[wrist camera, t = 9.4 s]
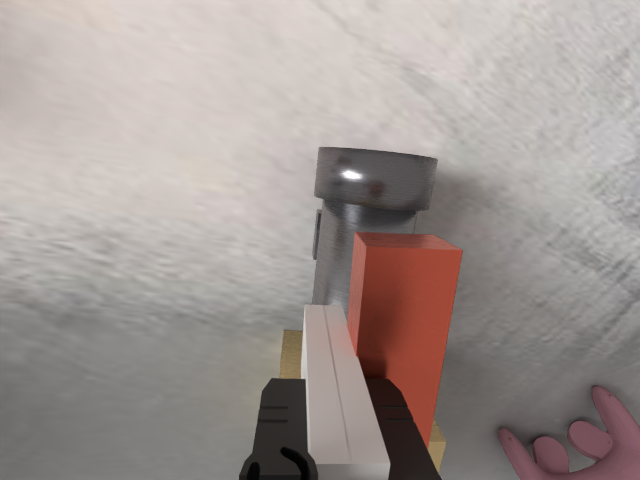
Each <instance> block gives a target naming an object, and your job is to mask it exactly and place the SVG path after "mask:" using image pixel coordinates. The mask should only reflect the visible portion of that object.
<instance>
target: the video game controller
mask: <svg viewBox="0 0 640 480" xmlns="http://www.w3.org/2000/svg"><path fill="white" fill-rule="evenodd" d="M592 397H593V401H594V404H595V406H596V408H597V410H598V412H599V415H600V417H601V419H602V421H603V423H604V424H605V426H606V428H607V432H604V431H602V430H600V429H598V428H597V427H595V426H593V425H592V424H590V423H588V422H585V421H576V422H574V423H573V424H572V425H571V426H570V428H569V429H568V432H567V437H568V440H569V442H570V443H571V445H572V446H573V447H574V448H575V449H576V450H577V451H579V452H580V453H582V454H583V455H585V456H587V457H590V458H592V459H594V460H595V461H596V463H595V464H594V465H592V466H590V467H588V468H585V469H582V470H579V471H576V472H571V473H570V472H569V458H568V454H567V452H566V450H565V448H564V447H563V446H562V444H561V443H560V442H558V441H557V440H555V439H553V438H551V437H540V438H537V439H536V440H535V441H534V443H533V447H532V451H533V457H534V460H533V459H532V458H531V456H530V455H529V454H528V452H527V451H526V449H525V448H524V447H523V445H522V444H521V442H520V441H519V440H518V439H517V438H516V437H515V436H514V435H513V434H512V433H511V432H510V431H509V430H507V429H506V428H500V429H499V438H500V441H501V444H502V446H503V449H504V451H505V453H506V455H507V457H508V458H509V460H510V462H511V464H512V466H513V467H514V469H515V471H516V473H517V475H518V476H519V478H520V480H640V427H639V425H638V424H637V422H636V421H635V420H634V418H633V417H632V416H631V414H630V413H629V411H628V410H627V409H626V407H625V406H624V405H623V404H622V403H621V401H620V400H619V399H618V398H617V397H615V396H614V395H613V394H612V393H611V392H610V391H608V390H606V389H605V388H603V387H600V386H595V387H593V388H592ZM534 461H535V462H534Z"/></svg>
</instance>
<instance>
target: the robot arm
mask: <svg viewBox="0 0 640 480" xmlns="http://www.w3.org/2000/svg"><path fill="white" fill-rule="evenodd" d="M239 480H442V479H441V477H440V476H439V474H438V472H437V470H436V467H435V465H434V463H433V461H432V459H431V456H430V454H429V452H428V450H427V447H426V445H425V443H424V441H423V439H422V436H421V434H420V432H419V430H418V428H417V425H416V423H415V422H414V419H413V416H412V414H411V412H410V410H409V409H408V405H407V403H406V401H405V399H404V396H403V394H402V392H401V391H400V390H399V389H398V388H397V387H396V386H395V385H394V384H393V383H392V382H391V381H390V380H389V379H364V376H363V372H362V369H361V366H360V363H359V359H358V357H356V355H355V352H354V348H353V345H352V341H351V338H350V335H349V331H348V328H347V320H346V317H345V314H344V310H343V307H342V306H334V305H305V309H304V325H303V341H302V357H301V379H283V378H271V380H270V381H269V383H268V384H267V385H266V387H265V388H264V389H263V391H262V396H261V402H260V409H259V415H258V422H257V427H256V433H255V440H254V446H253V452H252V454H251V455H250V456H249V457H248V458H247V459H246V461H245V462H244V465H243V467H242V470H241V472H240V475H239Z"/></svg>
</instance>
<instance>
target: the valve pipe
mask: <svg viewBox="0 0 640 480" xmlns="http://www.w3.org/2000/svg"><path fill="white" fill-rule="evenodd" d="M437 162H438V159H435V158H430V157H425V156H419V155H412V154H404V153H396V152H387V151H377V150H366V149H354V148H337V147H320V148H319V151H318V162H317V172H316V182H315V192H314V196H316V197H318V198H322V199H323V205H322V210H317V214H316V224H315V234H314V244H313V260H317V262H316V271H315V280H314V290H313V299H312V305H334V306H342V307H343V310H344V314H345V317H346V320H347V315H348V303H349V292H350V280H351V269H352V257H353V245H354V234H355V232H375V233H398V234H414V229H415V224H416V218H417V213H418V211H421V210H428V209H429V204H430V199H431V194H432V188H433V183H434V178H435V173H436V167H437ZM302 341H303V331H289V330H284V334H283V345H282V355H281V366H280V376H279V378H283V379H301V357H302ZM445 446H446V440H445V438H444V437H443V435H442V433H441V431H440V429H439V427H438V425H437V423H436V421H435V419H434V418H433V423H432V429H431V435H430V441H429V446H428V452H429V454H430V456H431V459H432V461H433V463H434V465H435V467H436V470H437V472H438V474H439V470H440V466H441V462H442V458H443V454H444V450H445Z"/></svg>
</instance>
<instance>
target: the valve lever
mask: <svg viewBox="0 0 640 480" xmlns="http://www.w3.org/2000/svg"><path fill="white" fill-rule="evenodd" d="M462 251H463V250H461V249H459V248H458V247H456V246H454V245H452V244H450V243H448V242H446V241H444V240H442V239H441V238H439V237H437V236H435V235H421V234H398V233H375V232H355V234H354V245H353V257H352V269H351V280H350V292H349V303H348V315H347V328H348V331H349V335H350V338H351V341H352V345H353V348H354V352H355V355H356V357H358V359H359V363H360V366H361V369H362V372H363V376H364V379H389V380H390V381H391V382H392V383H393V384H394V385H395V386H396V387H397V388H398V389H399V390H400V391H401V392H402V394H403V396H404V399H405V401H406V403H407V405H408V409H409V410H410V412H411V414H412V416H413V419H414V422H415V423H416V425H417V428H418V430H419V432H420V434H421V436H422V439H423V441H424V443H425V445H426V447H427V450H428V446H429V441H430V435H431V429H432V423H433V418H434V412H435V406H436V401H437V395H438V389H439V383H440V378H441V372H442V366H443V360H444V355H445V349H446V343H447V337H448V332H449V326H450V320H451V314H452V309H453V303H454V297H455V291H456V286H457V280H458V274H459V268H460V263H461V257H462Z"/></svg>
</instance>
